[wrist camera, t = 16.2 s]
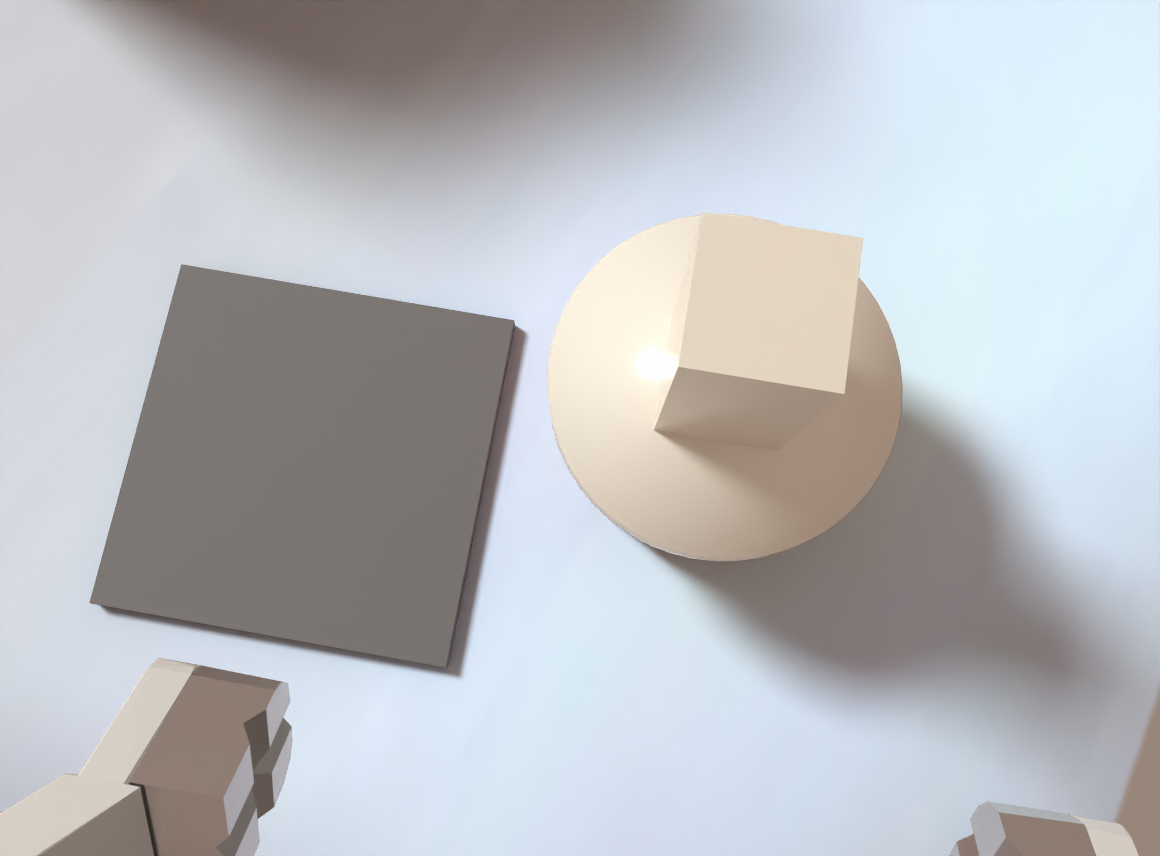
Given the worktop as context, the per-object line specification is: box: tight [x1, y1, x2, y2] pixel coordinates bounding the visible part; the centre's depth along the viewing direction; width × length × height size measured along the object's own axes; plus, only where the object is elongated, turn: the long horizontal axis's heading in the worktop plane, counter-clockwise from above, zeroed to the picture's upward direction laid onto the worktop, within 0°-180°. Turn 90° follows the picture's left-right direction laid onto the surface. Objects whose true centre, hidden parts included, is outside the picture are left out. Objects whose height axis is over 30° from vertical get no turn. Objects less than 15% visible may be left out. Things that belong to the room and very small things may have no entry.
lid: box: [547, 213, 902, 561], centre depth 24 cm, size 10×10×8 cm
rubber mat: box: [90, 264, 515, 668], centre depth 33 cm, size 12×12×1 cm
